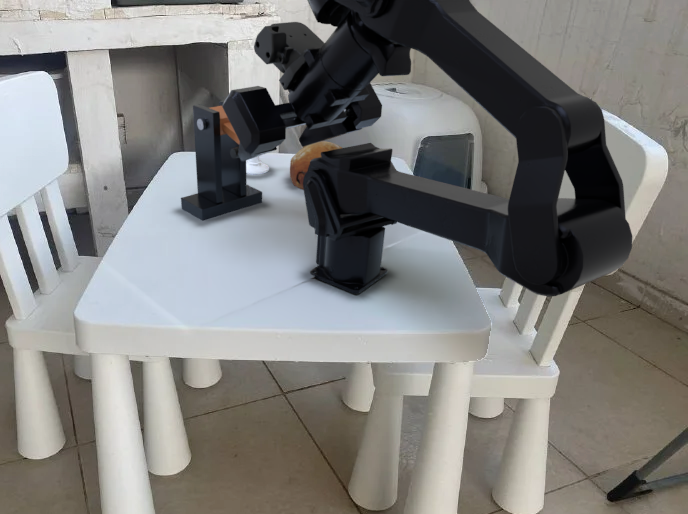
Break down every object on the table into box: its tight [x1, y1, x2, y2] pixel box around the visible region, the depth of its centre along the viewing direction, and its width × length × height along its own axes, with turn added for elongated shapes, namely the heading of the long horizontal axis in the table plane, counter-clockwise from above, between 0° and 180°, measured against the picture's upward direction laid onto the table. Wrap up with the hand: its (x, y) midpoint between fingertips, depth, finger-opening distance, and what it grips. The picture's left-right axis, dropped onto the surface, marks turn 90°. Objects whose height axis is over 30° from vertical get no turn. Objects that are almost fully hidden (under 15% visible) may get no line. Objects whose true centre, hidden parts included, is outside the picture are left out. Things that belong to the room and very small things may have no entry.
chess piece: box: [246, 156, 270, 175], centre depth 94 cm, size 5×5×10 cm
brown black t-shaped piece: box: [209, 105, 240, 159], centre depth 76 cm, size 9×6×2 cm, turn 41°
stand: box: [180, 99, 263, 222], centre depth 80 cm, size 5×10×14 cm, turn 131°
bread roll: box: [289, 140, 343, 191], centre depth 92 cm, size 10×10×8 cm
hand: (272, 150), depth 72 cm, fingers open, 9 cm apart
